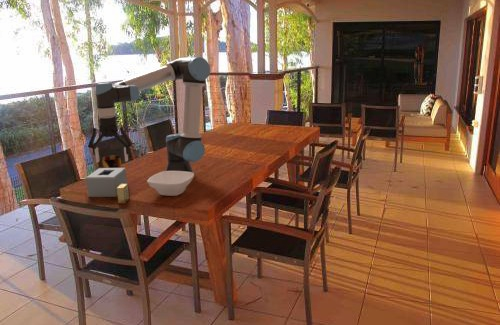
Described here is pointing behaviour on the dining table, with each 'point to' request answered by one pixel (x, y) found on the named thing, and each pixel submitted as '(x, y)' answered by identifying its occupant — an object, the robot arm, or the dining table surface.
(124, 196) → the token
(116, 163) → the mug
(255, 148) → the dining table surface
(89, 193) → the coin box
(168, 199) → the dining table surface
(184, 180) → the bowl
